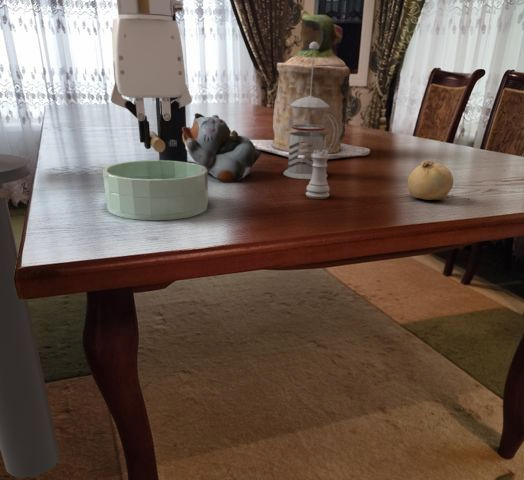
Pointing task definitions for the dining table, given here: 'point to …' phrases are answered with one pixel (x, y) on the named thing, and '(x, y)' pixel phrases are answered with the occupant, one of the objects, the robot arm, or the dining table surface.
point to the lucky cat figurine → (219, 148)
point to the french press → (307, 135)
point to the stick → (156, 142)
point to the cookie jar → (313, 90)
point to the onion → (430, 181)
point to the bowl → (156, 189)
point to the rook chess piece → (318, 176)
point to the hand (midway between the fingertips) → (155, 146)
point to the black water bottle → (174, 132)
